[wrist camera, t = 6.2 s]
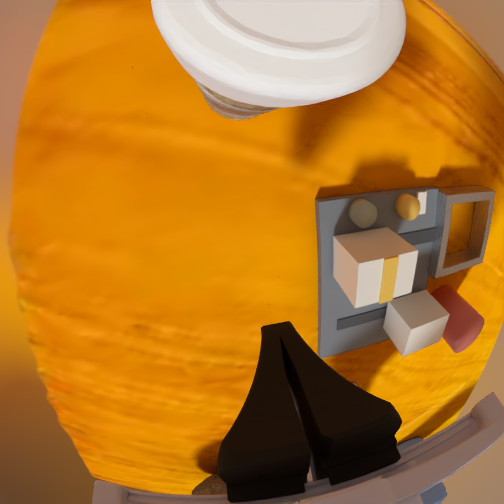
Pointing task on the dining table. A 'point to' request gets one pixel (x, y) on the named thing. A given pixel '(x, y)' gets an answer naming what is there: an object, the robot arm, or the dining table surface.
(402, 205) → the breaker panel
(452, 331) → the cap
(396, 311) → the toggle
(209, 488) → the bowl
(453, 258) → the frame
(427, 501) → the water jug
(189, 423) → the dining table surface
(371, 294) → the toggle
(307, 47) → the sprinkles bottle
